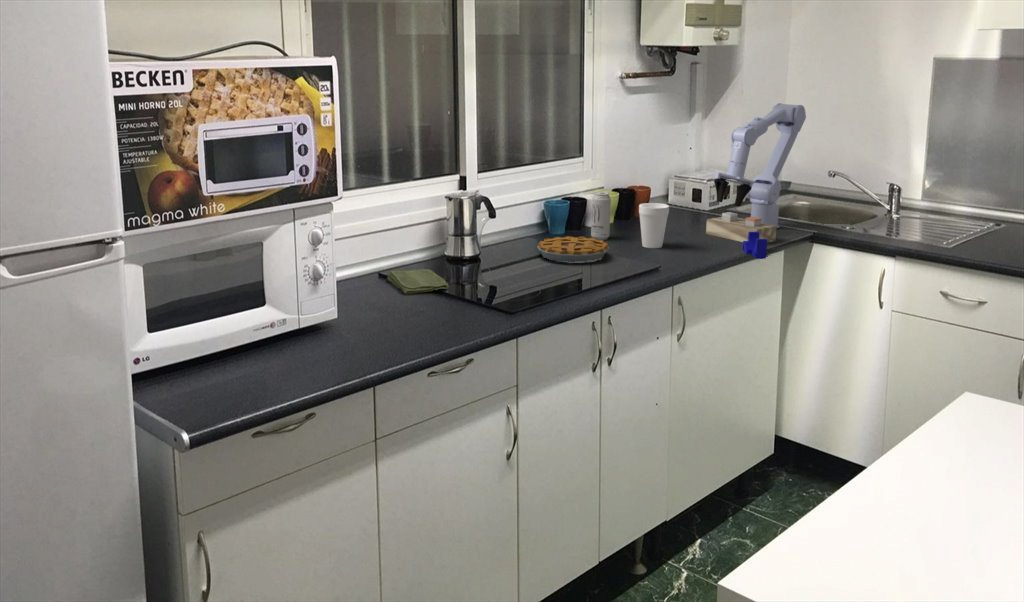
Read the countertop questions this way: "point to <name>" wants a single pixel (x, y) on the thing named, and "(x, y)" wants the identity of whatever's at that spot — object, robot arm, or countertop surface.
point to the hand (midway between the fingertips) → (728, 204)
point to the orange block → (753, 221)
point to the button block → (739, 230)
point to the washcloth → (416, 281)
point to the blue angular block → (755, 245)
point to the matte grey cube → (729, 216)
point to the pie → (572, 248)
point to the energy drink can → (600, 216)
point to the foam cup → (653, 223)
